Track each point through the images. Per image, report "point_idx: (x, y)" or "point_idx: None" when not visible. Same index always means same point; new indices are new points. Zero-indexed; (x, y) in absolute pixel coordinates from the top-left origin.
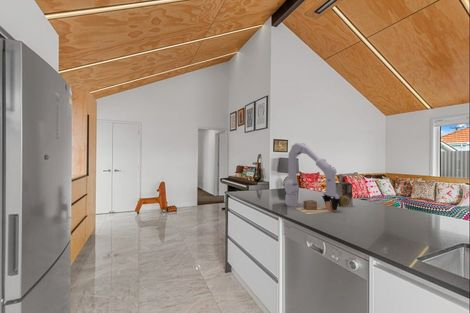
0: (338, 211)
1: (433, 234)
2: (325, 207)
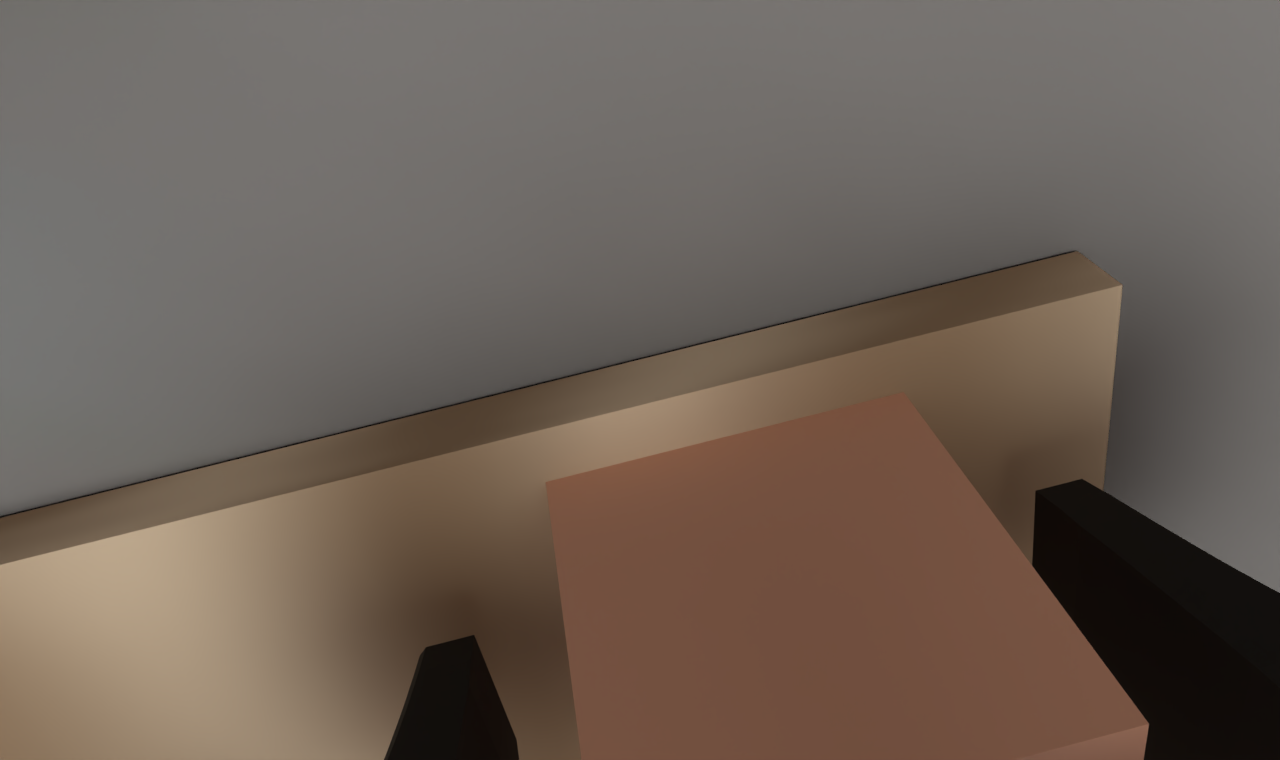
0: (1110, 373)
1: None
2: (238, 694)
